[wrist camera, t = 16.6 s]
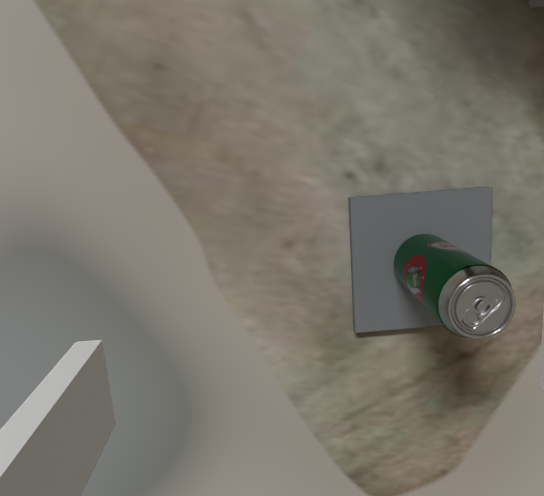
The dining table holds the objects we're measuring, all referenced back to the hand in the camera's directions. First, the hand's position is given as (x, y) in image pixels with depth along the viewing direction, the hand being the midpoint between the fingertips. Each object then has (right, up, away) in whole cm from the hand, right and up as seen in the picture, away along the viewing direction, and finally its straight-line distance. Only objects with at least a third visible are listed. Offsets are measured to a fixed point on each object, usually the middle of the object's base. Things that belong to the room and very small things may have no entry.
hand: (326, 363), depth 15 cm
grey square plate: (+11, +2, +29) cm, 32 cm away
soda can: (+11, +2, +29) cm, 31 cm away
